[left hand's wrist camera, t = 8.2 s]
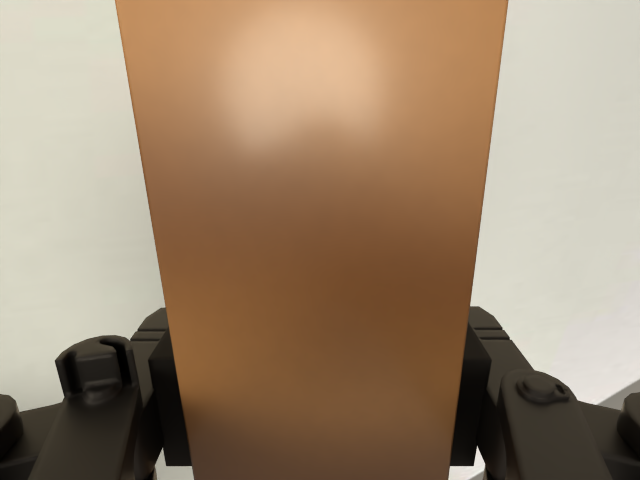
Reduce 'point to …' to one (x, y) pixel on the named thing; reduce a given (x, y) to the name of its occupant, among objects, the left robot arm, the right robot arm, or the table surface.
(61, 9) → the table surface
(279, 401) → the bar
